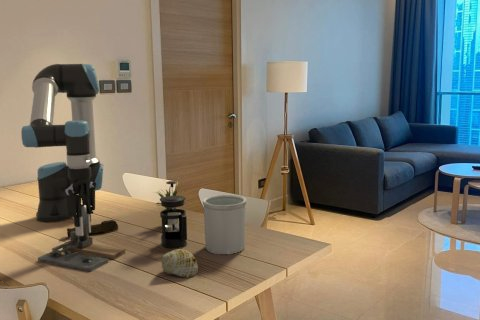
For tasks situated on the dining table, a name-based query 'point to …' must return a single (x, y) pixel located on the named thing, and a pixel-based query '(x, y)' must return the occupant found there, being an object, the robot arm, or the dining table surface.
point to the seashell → (179, 263)
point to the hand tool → (99, 227)
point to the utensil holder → (224, 223)
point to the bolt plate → (73, 260)
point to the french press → (173, 233)
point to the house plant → (170, 221)
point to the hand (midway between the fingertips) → (83, 233)
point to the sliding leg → (83, 239)
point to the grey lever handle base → (91, 248)
